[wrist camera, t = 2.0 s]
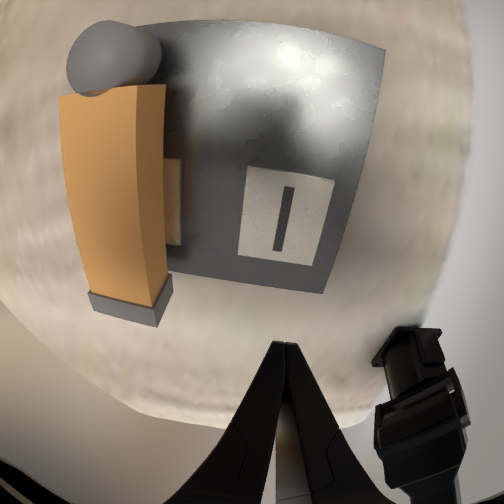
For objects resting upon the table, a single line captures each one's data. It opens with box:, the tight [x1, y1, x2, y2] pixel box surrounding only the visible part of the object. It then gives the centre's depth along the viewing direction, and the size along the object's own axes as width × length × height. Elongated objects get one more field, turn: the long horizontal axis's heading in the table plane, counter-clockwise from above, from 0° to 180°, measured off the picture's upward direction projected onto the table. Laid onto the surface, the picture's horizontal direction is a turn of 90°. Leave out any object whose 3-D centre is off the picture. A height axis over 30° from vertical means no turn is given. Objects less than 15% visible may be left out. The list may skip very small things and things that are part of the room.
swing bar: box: [59, 20, 173, 327], centre depth 12 cm, size 17×5×3 cm, turn 173°
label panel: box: [137, 20, 386, 294], centre depth 15 cm, size 17×17×3 cm
